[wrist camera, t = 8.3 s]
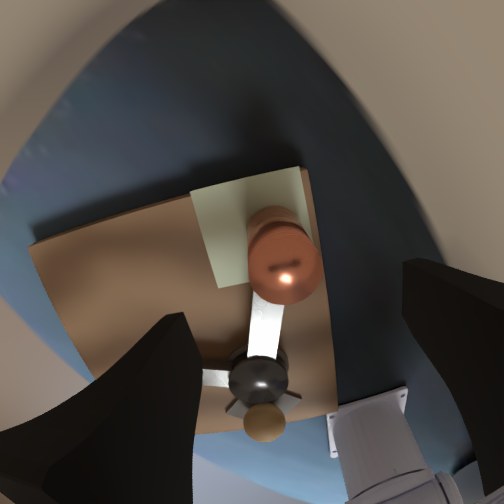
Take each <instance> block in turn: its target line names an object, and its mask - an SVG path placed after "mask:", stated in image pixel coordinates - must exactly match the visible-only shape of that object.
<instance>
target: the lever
mask: <svg viewBox="0 0 504 504" xmlns="http://www.w3.org/2000/svg"><path fill="white" fill-rule="evenodd" d="M247 253H248V277H249V282H250V285H251V287H252V289H253V291H252V301H251V312H250V322H249V333H248V343H247V351H246V352H243V353H241V354H239V355H238V356H237V357H235V358H234V359H233V361H219V360H206V359H203V382H202V385H204V386H217V387H229V390H230V392H231V393H232V394H233V395H234V396H235V397H236V398H238V399H239V400H241V401H244V402H248V403H255V404H260V403H267V402H270V401H273V400H275V399H277V398H279V397H280V396H282V395H283V394H284V393H285V391H286V390H287V388H288V384H289V380H288V374H287V368H286V364H285V361H284V360H283V359H282V358H281V357H280V356H279V355H278V354H276V353H277V347H278V341H279V335H280V329H281V323H282V316H283V310H284V305H291V304H295V303H298V302H300V301H302V300H304V299H306V298H307V297H309V296H310V295H311V294H312V293H313V292H314V291H315V290H316V288H317V287H318V285H319V283H320V281H321V278H322V274H323V264H322V260H321V257H320V255H319V253H318V251H317V250H316V248H315V246H314V245H313V243H312V241H311V239H310V238H309V236H308V234H307V233H306V231H305V229H304V228H303V226H302V225H301V223H300V221H299V220H298V218H297V217H296V215H295V214H294V213H293V212H292V211H291V210H289V209H287V208H285V207H282V206H267V207H264V208H262V209H260V210H259V211H257V212H256V213H255V214H254V215H253V216H252V218H251V219H250V221H249V223H248V226H247Z"/></svg>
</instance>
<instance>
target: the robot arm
mask: <svg viewBox="0 0 504 504" xmlns="http://www.w3.org/2000/svg"><path fill="white" fill-rule="evenodd" d="M402 315H403V317H404V319H405V321H406V323H407V325H408V327H409V329H410V331H411V332H412V334H413V336H414V338H415V339H416V341H417V342H418V344H419V345H420V347H421V348H422V349H423V351H424V352H425V354H426V355H427V357H428V358H429V359H430V361H431V362H432V364H433V365H434V367H435V368H436V370H437V371H438V373H439V374H440V376H441V377H442V379H443V380H444V381H445V383H446V385H447V387H448V388H449V390H450V392H451V394H452V396H453V398H454V400H455V402H456V404H457V406H458V409H459V411H460V413H461V415H462V418H463V420H464V423H465V425H466V428H467V431H468V433H469V436H470V439H471V442H472V445H473V448H474V451H475V455H476V458H477V461H478V466H479V470H480V475H481V479H482V484H483V490H484V495H485V498H483V499H481V500H479V501H478V502H476V503H474V504H504V283H501V282H498V281H494V280H490V279H487V278H483V277H480V276H477V275H473V274H471V273H467V272H464V271H461V270H458V269H455V268H452V267H449V266H446V265H443V264H440V263H437V262H434V261H430V260H426V259H421V258H416V259H413V260H409V261H405V262H403V300H402ZM202 382H203V359H202V356H201V354H200V352H199V349H198V347H197V344H196V342H195V340H194V337H193V335H192V332H191V330H190V327H189V325H188V322H187V320H186V317H185V315H184V312H178V313H172V314H166V315H165V316H164V317H162V318H161V319H160V320H159V321H158V322H157V323H156V324H155V325H154V326H153V327H152V328H151V329H150V330H149V331H148V332H147V333H146V334H145V335H144V336H143V337H142V338H141V339H140V340H139V341H138V342H137V343H136V344H135V345H134V346H133V347H132V348H131V349H130V350H129V351H128V352H127V353H125V354H124V355H123V356H122V357H121V358H120V359H119V360H118V361H117V362H116V363H115V364H114V365H113V366H111V367H110V368H109V369H108V370H107V371H106V372H105V373H104V374H102V375H101V376H100V377H99V378H97V379H96V380H95V381H94V382H92V383H91V384H90V385H88V386H87V387H86V388H84V389H83V390H82V391H80V392H79V393H77V394H76V395H74V396H72V397H71V398H69V399H68V400H66V401H65V402H63V403H61V404H60V405H58V406H57V407H55V408H53V409H51V410H49V411H48V412H46V413H44V414H42V415H40V416H38V417H36V418H34V419H32V420H29V421H27V422H25V423H23V424H20V425H18V426H15V427H12V428H9V429H7V430H4V431H1V432H0V492H1V493H2V494H4V495H5V496H6V497H7V498H9V499H10V500H11V501H13V502H14V503H15V504H193V491H192V490H193V489H192V456H193V444H194V436H195V430H196V423H197V417H198V411H199V404H200V398H201V392H202ZM407 393H408V389H407V387H406V386H403V387H400V388H397V389H394V390H391V391H388V392H385V393H382V394H379V395H376V396H372V397H369V398H366V399H362V400H359V401H355V402H352V403H348V404H344V405H340V406H338V411H337V412H333V413H329V414H326V419H327V428H328V438H329V449H330V456H331V457H332V458H335V457H339V461H340V465H341V469H342V474H343V478H344V482H345V486H346V490H347V494H348V499H349V501H347V502H345V504H464V503H463V500H462V497H461V495H460V492H459V490H458V488H457V486H456V484H455V482H454V480H453V479H452V477H451V476H450V475H449V474H446V473H443V472H438V473H436V474H435V475H434V473H433V471H432V468H431V467H428V468H427V465H426V463H425V461H424V459H423V456H422V454H421V452H420V449H419V447H418V445H417V443H416V440H415V438H414V436H413V434H412V432H411V430H410V427H409V425H408V423H407V421H406V419H405V417H404V409H405V404H406V399H407Z"/></svg>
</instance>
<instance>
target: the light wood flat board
mask: <svg viewBox="0 0 504 504" xmlns="http://www.w3.org/2000/svg"><path fill="white" fill-rule="evenodd" d="M267 206H282V207H285V208H287V209H289V210H291V211H292V212H293V213H294V214H295V215H296V217H297V218H298V220H299V221H300V223H301V225H302V226H303V228H304V229H305V231H306V233H307V234H308V236H309V238H310V239H311V241H312V243H313V245H314V246H315V248H316V250H317V251H318V253H319V255H320V257H321V260H322V264H323V259H322V252H321V246H320V239H319V233H318V227H317V221H316V215H315V209H314V203H313V198H312V192H311V187H310V181H309V176H308V171H307V169H305V168H304V167H302V168H299V166H297V167H292V168H287V169H282V170H277V171H273V172H268V173H264V174H259V175H255V176H250V177H246V178H241V179H237V180H233V181H229V182H225V183H220V184H216V185H212V186H208V187H205V188H201V189H197V190H193V191H190V193H189V194H185V195H182V196H178V197H174V198H171V199H167V200H163V201H160V202H156V203H153V204H149V205H146V206H142V207H139V208H136V209H132V210H129V211H126V212H122V213H119V214H116V215H113V216H109V217H106V218H103V219H100V220H97V221H94V222H91V223H88V224H85V225H82V226H79V227H76V228H73V229H70V230H67V231H64V232H61V233H58V234H56V235H53V236H50V237H47V238H45V239H42V240H39V241H36V242H35V243H33V244H32V245H30V246H29V247H27V248H28V251H29V253H30V256H31V258H32V260H33V263H34V265H35V268H36V270H37V272H38V275H39V277H40V279H41V281H42V284H43V286H44V288H45V290H46V292H47V294H48V297H49V299H50V301H51V303H52V305H53V307H54V309H55V311H56V313H57V315H58V317H59V318H60V320H61V322H62V324H63V326H64V328H65V330H66V332H67V333H68V335H69V337H70V339H71V340H72V342H73V344H74V346H75V347H76V349H77V351H78V352H79V354H80V356H81V357H82V359H83V361H84V362H85V364H86V366H87V367H88V369H89V370H90V372H91V373H92V375H93V377H94V378H95V380H96V379H97V378H99V377H100V376H101V375H102V374H104V373H105V372H106V371H107V370H108V369H109V368H110V367H111V366H113V365H114V364H115V363H116V362H117V361H118V360H119V359H120V358H121V357H122V356H123V355H124V354H125V353H127V352H128V351H129V350H130V349H131V348H132V347H133V346H134V345H135V344H136V343H137V342H138V341H139V340H140V339H141V338H142V337H143V336H144V335H145V334H146V333H147V332H148V331H149V330H150V329H151V328H152V327H153V326H154V325H155V324H156V323H157V322H158V321H159V320H160V319H161V318H162V317H164V316H165V315H166V314H172V313H178V312H184V315H185V317H186V320H187V322H188V325H189V327H190V330H191V332H192V335H193V337H194V340H195V342H196V344H197V347H198V349H199V352H200V354H201V356H202V359H206V360H219V361H233V359H234V358H235V357H237V356H238V355H239V354H241V353H243V352H246V351H247V343H248V333H249V322H250V312H251V301H252V291H253V289H252V287H251V285H250V282H249V277H248V253H247V226H248V223H249V221H250V219H251V218H252V216H253V215H254V214H255V213H256V212H257V211H259V210H260V209H262V208H264V207H267ZM276 354H278V355H279V356H280V357H281V358H282V359H283V360H284V361H285V364H286V368H287V374H288V380H289V384H288V388H287V390H286V391H285V393H284V394H283V395H282V396H280V397H279V398H277V399H275V400H273V401H270V402H267V403H260V404H255V403H248V402H244V401H241V400H239V399H238V398H236V397H235V396H234V395H233V394H232V393H231V392H230V390H229V387H217V386H204V385H202V392H201V398H200V404H199V411H198V417H197V423H196V430H195V434H207V433H218V432H228V431H236V430H244V429H245V432H246V433H247V435H248V436H249V437H251V438H252V439H254V440H256V441H259V442H270V441H273V440H275V439H277V438H278V437H279V436H280V435H281V434H282V433H283V431H284V428H285V424H286V423H288V422H293V421H298V420H303V419H307V418H312V417H316V416H321V415H325V414H329V413H333V412H337V411H338V398H337V384H336V372H335V360H334V350H333V340H332V330H331V321H330V312H329V304H328V296H327V288H326V281H325V273H324V266H323V274H322V278H321V281H320V283H319V285H318V287H317V288H316V290H315V291H314V292H313V293H312V294H311V295H310V296H309V297H307V298H306V299H304V300H302V301H300V302H298V303H295V304H291V305H284V310H283V316H282V323H281V329H280V335H279V341H278V347H277V353H276Z"/></svg>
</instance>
